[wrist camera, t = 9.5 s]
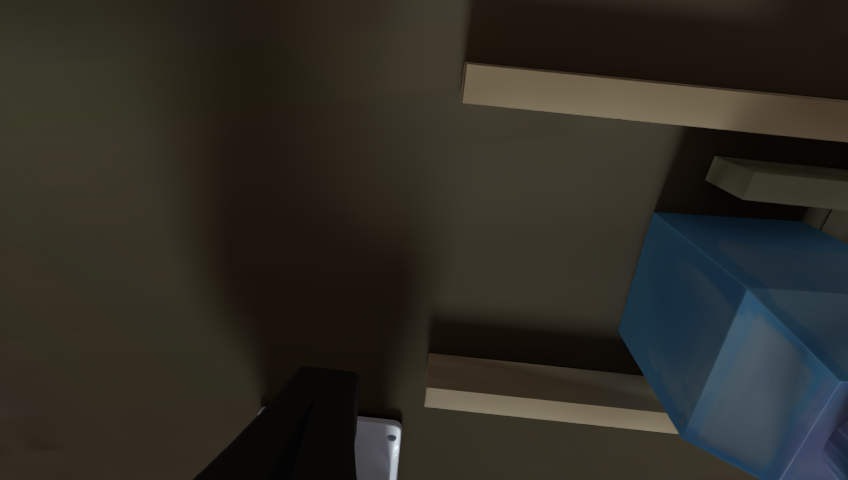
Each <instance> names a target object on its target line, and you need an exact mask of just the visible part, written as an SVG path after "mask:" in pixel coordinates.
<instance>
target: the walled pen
mask: <svg viewBox="0 0 848 480" xmlns="http://www.w3.org/2000/svg"><path fill="white" fill-rule="evenodd" d="M461 99H462V103H469V104H478V105H488V106H498V107H508V108H517V109H527V110H537V111H547V112H556V113H566V114H576V115H586V116H595V117H605V118H615V119H625V120H634V121H644V122H654V123H664V124H673V125H683V126H693V127H703V128H712V129H722V130H732V131H742V132H751V133H761V134H771V135H781V136H790V137H800V138H810V139H820V140H829V141H839V142H848V101H847V100H838V99H828V98H818V97H808V96H798V95H789V94H779V93H769V92H759V91H749V90H739V89H730V88H720V87H710V86H700V85H690V84H681V83H671V82H661V81H651V80H641V79H632V78H622V77H612V76H602V75H592V74H582V73H573V72H563V71H553V70H543V69H533V68H524V67H514V66H504V65H494V64H484V63H475V62H464V70H463V78H462V87H461ZM705 180H706V181H708V182H710V183H712V184H713V185H715V186H717V187H719V188H721V189H723V190H725V191H727V192H729V193H731V194H733V195H734V196H736V197H738V198H740V199H742V200H750V201H759V202H769V203H779V204H788V205H798V206H808V207H817V208H827V209H832V211H831V213H830V215H829V216H828V218H827V220H826V222H825V224H824V226H823V228H822V229H821V231H822V232H824V233H826V234H828V235H830V236H832V237H834V238H836V239H838V240H840V241H842V242H844V243H846V244H848V170H847V169H837V168H827V167H817V166H808V165H798V164H788V163H779V162H769V161H759V160H750V159H740V158H730V157H720V156H714V159H713V161H712V164H711V166H710V169H709V171H708V174H707V177H706V179H705ZM424 407H432V408H441V409H451V410H460V411H469V412H479V413H488V414H497V415H506V416H516V417H525V418H534V419H544V420H553V421H562V422H572V423H581V424H590V425H600V426H609V427H618V428H627V429H637V430H646V431H655V432H665V433H674V434H679V433H678V431H677V430H676V428H675V426H674V425H673V423H672V421H671V420H670V418H669V416H668V415H667V413H666V411H665V409H664V408H663V406H662V404H661V403H660V401H659V399H658V398H657V396H656V394H655V393H654V391H653V389H652V388H651V386H650V384H649V383H648V381H647V379H646V378H645V376H640V375H631V374H622V373H612V372H603V371H593V370H584V369H575V368H565V367H556V366H546V365H537V364H528V363H518V362H509V361H500V360H490V359H481V358H471V357H462V356H453V355H443V354H434V353H429V356H428V364H427V374H426V389H425V405H424Z"/></svg>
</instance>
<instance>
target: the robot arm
mask: <svg viewBox="0 0 848 480" xmlns="http://www.w3.org/2000/svg"><path fill="white" fill-rule="evenodd" d="M359 381H360V377H359V376H358V375H357V374H356V373H355V372H347V371H339V370H331V369H322V368H314V367H306V366H302V367H301V368H299V369H298V370H297V371H296V373H295V374H294V375H293V376H292V377H291V379H290V380H289V381H288V382H287V383H286V384H285V386H284V387H283V388H282V389H281V390H280V391H279V393H278V394H277V395H276V396H275V397H274V398H273V399H272V400H271V402H270V403H269V404H268V405H267V406H266V407H263V408H261V409H260V411H259V413H258V416H257V417H256V418H255V419H254V420H253V421H252V422H251V423H250V424H249V425H248V426H247V427H246V428H245V429H244V430H243V431H242V432H241V433H240V435H239V436H238V437H237V438H236V439H235V440H234V441H233V442H232V443H231V444H230V445H229V446H228V447H227V448H226V449H225V450H224V451H222V452H221V453H220V454H219V455H218V456H217V457H216V458H215V459H214V460H213V461H212V462H211V463H210V464H209V465H208V466H207V467H206V468H205V469H204V470H203V471H201V472H200V473H199V474H198V475H197V476H196V477H195V478H194V479H193V480H397V473H398V462H399V452H400V442H401V432H402V425H401V424H400V422H398V421H396V420H389V419H380V418H371V417H361V416H357V415H358V398H359Z"/></svg>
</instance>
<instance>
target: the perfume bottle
mask: <svg viewBox="0 0 848 480" xmlns="http://www.w3.org/2000/svg"><path fill="white" fill-rule="evenodd" d="M618 332H619V334H620V336H621V337H622V339H623V341H624V342H625V344H626V346H627V347H628V349H629V351H630V352H631V354H632V356H633V357H634V359H635V361H636V363H637V364H638V366H639V368H640V369H641V371H642V373H643V374H644V376H645V378H646V379H647V381H648V383H649V384H650V386H651V388H652V389H653V391H654V393H655V394H656V396H657V398H658V399H659V401H660V403H661V404H662V406H663V408H664V409H665V411H666V413H667V415H668V416H669V418H670V420H671V421H672V423H673V425H674V426H675V428H676V430H677V431H678V433H679V435H680V436H681V438H682V439H684V440H686V441H688V442H690V443H692V444H694V445H695V446H697V447H699V448H701V449H703V450H705V451H707V452H709V453H711V454H713V455H715V456H717V457H719V458H721V459H722V460H724V461H726V462H728V463H730V464H732V465H734V466H736V467H738V468H740V469H742V470H744V471H746V472H748V473H749V474H751V475H753V476H755V477H757V478H759V479H761V480H848V244H846V243H844V242H842V241H840V240H838V239H836V238H834V237H832V236H830V235H828V234H826V233H824V232H822V231H820V230H818V229H816V228H814V227H812V226H810V225H808V224H806V223H804V222H801V221H785V220H770V219H754V218H739V217H724V216H708V215H693V214H678V213H662V212H653V215H652V218H651V222H650V225H649V228H648V232H647V235H646V238H645V242H644V245H643V248H642V252H641V255H640V258H639V262H638V265H637V268H636V272H635V275H634V278H633V281H632V285H631V288H630V291H629V295H628V298H627V301H626V305H625V308H624V311H623V315H622V318H621V321H620V325H619V328H618Z"/></svg>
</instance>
